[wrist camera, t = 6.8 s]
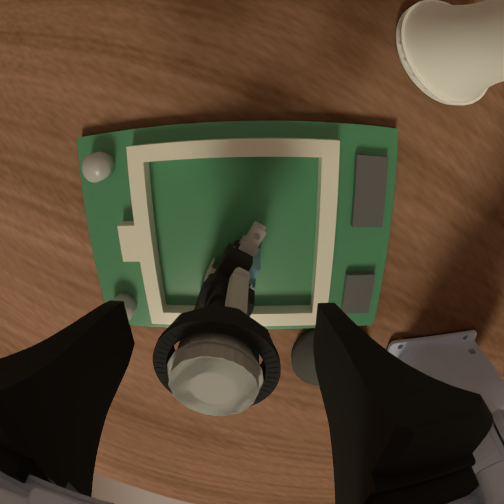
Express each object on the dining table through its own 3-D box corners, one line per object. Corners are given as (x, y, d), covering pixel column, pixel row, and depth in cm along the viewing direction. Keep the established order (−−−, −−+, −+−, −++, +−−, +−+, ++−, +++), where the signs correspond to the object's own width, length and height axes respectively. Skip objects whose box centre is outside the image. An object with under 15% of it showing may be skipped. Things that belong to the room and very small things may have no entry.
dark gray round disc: (369, 317, 23) (374, 327, 22) (356, 373, 26) (359, 382, 24) (293, 320, 23) (294, 330, 22) (288, 376, 26) (289, 387, 25)
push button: (222, 200, 19) (189, 281, 10) (299, 241, 20) (330, 347, 11) (178, 286, 21) (132, 397, 12) (247, 319, 22) (241, 439, 13)
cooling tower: (429, -14, 13) (515, -62, 4) (497, 64, 15) (596, 62, 5) (373, 43, 15) (463, -4, 6) (451, 127, 17) (560, 148, 8)
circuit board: (394, 128, 17) (406, 129, 16) (370, 320, 23) (377, 334, 21) (81, 137, 18) (67, 139, 16) (113, 319, 23) (105, 332, 22)
